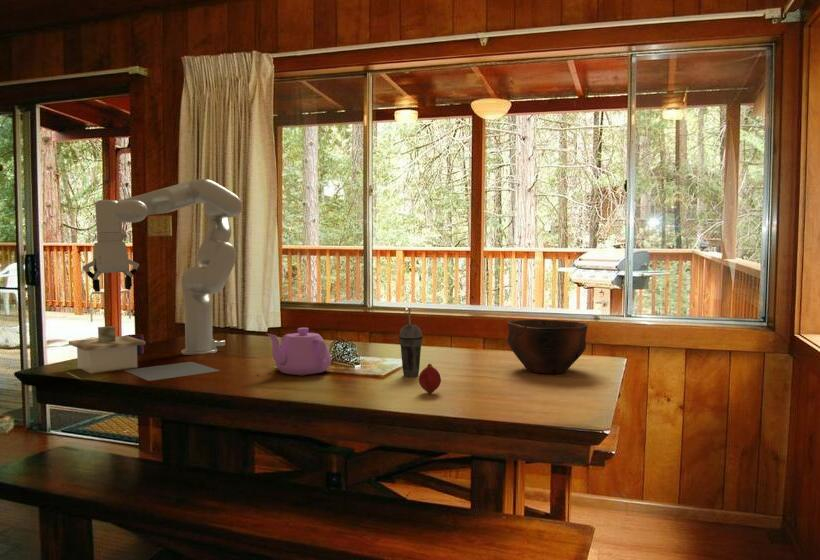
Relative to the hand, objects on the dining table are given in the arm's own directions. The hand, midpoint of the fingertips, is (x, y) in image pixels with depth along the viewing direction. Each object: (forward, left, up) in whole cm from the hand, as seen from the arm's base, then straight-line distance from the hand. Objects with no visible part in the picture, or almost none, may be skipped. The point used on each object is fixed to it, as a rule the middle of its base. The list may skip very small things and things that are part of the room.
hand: (112, 290), depth 212 cm
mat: (-9, +24, -25) cm, 36 cm away
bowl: (-96, +102, -25) cm, 142 cm away
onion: (-48, +100, -25) cm, 114 cm away
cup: (-11, -20, -25) cm, 34 cm away
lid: (+3, +4, -17) cm, 18 cm away
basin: (+4, +4, -25) cm, 26 cm away
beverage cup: (-60, +79, -25) cm, 102 cm away
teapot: (-38, +52, -25) cm, 69 cm away
